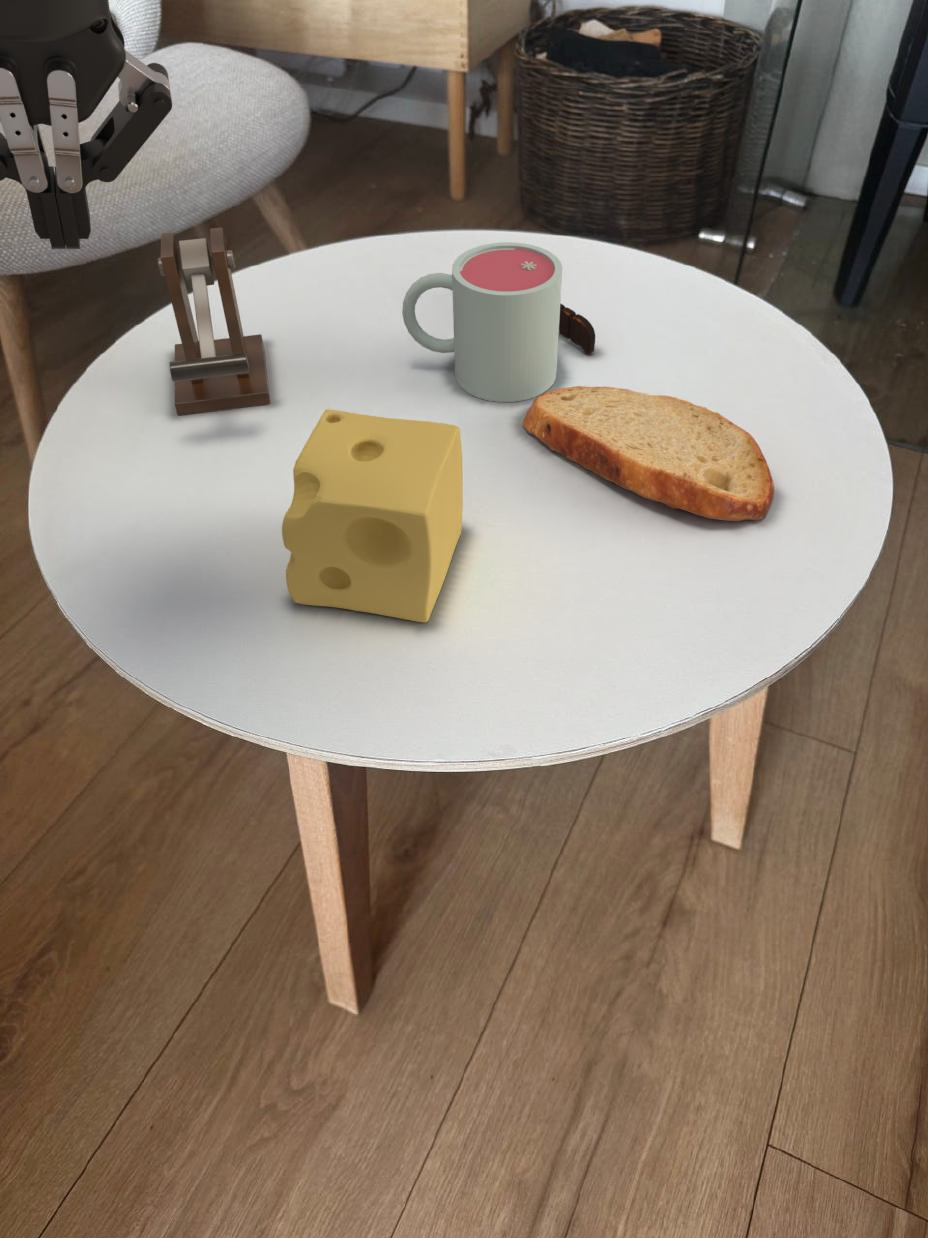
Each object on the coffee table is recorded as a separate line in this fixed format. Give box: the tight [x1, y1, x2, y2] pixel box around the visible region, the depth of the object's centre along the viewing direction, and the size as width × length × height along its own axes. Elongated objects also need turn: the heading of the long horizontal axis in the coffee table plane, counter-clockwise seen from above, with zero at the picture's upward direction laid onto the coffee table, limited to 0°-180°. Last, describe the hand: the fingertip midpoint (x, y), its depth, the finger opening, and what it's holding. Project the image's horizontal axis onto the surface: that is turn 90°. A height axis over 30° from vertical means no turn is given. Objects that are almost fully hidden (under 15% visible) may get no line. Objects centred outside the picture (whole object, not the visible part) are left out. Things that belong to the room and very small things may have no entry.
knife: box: [559, 302, 596, 356], centre depth 95 cm, size 17×1×3 cm, turn 36°
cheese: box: [281, 408, 464, 623], centre depth 68 cm, size 10×11×10 cm
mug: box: [401, 241, 563, 403], centre depth 86 cm, size 14×9×10 cm
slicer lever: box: [169, 237, 250, 383], centre depth 80 cm, size 12×6×2 cm, turn 11°
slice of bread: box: [522, 385, 775, 522], centre depth 79 cm, size 18×18×4 cm
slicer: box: [157, 227, 271, 416], centre depth 85 cm, size 10×8×13 cm
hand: (65, 238), depth 54 cm, fingers closed
